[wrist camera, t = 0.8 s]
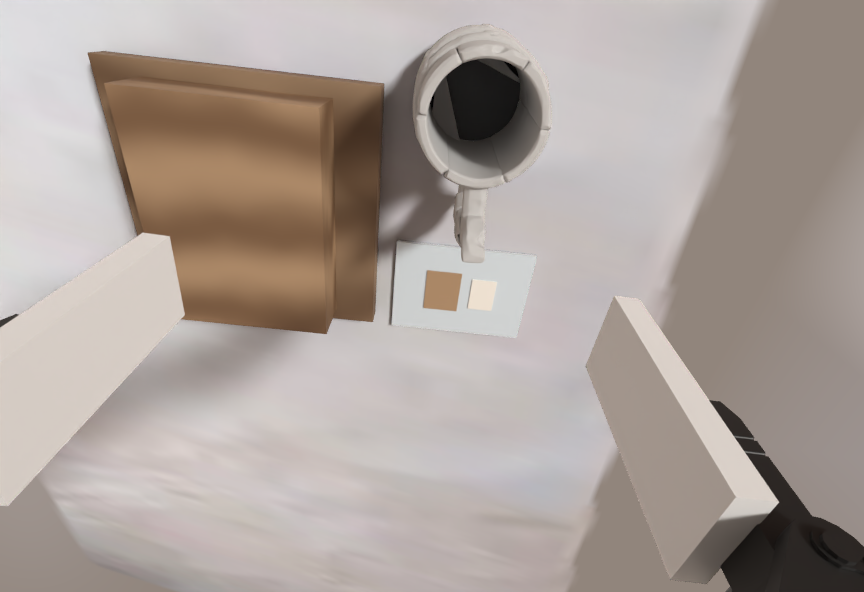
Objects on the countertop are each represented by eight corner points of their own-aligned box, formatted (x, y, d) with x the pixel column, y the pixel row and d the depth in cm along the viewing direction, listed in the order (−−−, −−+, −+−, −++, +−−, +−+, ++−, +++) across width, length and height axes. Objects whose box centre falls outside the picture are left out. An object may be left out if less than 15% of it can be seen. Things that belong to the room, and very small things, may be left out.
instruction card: (397, 240, 35) (396, 242, 34) (536, 255, 35) (537, 257, 35) (391, 323, 39) (391, 325, 39) (516, 335, 39) (516, 338, 39)
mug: (543, 26, 27) (600, 30, 17) (515, 212, 33) (543, 297, 23) (417, 20, 27) (397, 20, 17) (413, 206, 33) (396, 288, 23)
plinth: (103, 51, 28) (42, 56, 24) (384, 83, 29) (372, 94, 25) (165, 290, 38) (129, 324, 34) (375, 311, 38) (365, 348, 34)
